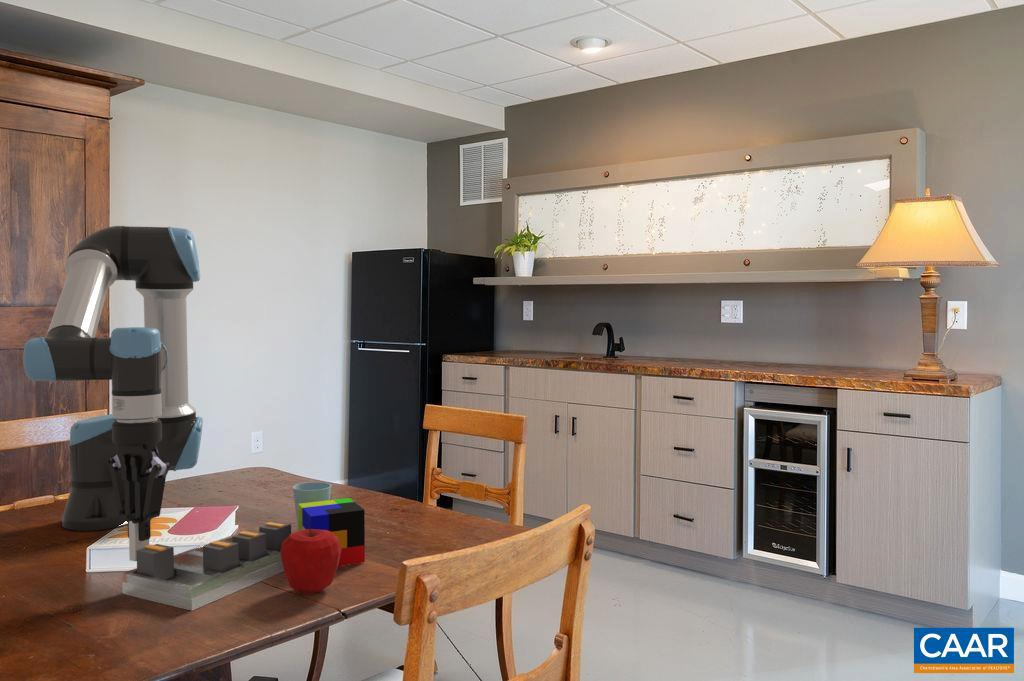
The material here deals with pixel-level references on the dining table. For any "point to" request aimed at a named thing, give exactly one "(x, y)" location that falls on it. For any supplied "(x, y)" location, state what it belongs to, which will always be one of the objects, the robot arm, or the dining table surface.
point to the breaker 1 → (156, 561)
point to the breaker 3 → (250, 545)
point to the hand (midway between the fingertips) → (139, 558)
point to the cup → (311, 493)
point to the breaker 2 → (220, 556)
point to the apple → (310, 559)
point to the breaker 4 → (275, 534)
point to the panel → (201, 597)
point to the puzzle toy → (337, 525)
